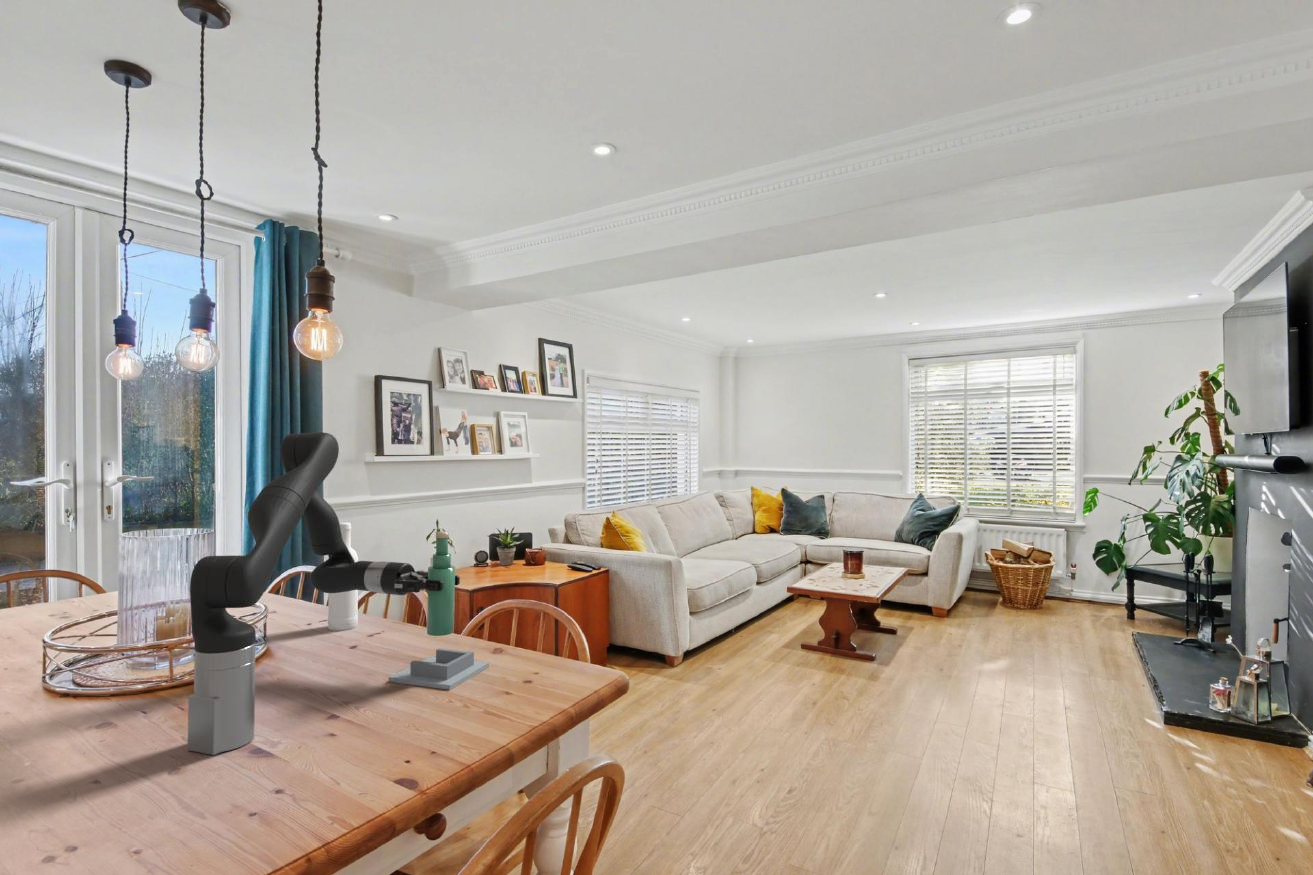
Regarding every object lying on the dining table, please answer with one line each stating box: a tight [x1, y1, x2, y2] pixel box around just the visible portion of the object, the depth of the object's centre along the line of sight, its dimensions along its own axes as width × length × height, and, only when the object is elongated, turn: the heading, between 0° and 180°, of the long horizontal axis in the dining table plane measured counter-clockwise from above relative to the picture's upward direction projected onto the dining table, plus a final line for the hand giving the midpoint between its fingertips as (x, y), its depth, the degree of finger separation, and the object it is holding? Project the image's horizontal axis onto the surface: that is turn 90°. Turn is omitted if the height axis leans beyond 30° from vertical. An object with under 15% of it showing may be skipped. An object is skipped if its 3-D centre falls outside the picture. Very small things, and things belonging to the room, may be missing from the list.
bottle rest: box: [388, 648, 490, 691], centre depth 159 cm, size 16×16×4 cm
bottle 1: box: [327, 522, 359, 632], centre depth 197 cm, size 8×8×30 cm
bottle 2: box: [426, 530, 456, 637], centre depth 159 cm, size 6×6×23 cm
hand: (450, 583), depth 158 cm, fingers closed on bottle 2, 6 cm apart
